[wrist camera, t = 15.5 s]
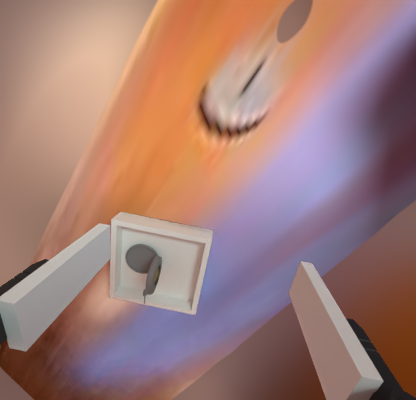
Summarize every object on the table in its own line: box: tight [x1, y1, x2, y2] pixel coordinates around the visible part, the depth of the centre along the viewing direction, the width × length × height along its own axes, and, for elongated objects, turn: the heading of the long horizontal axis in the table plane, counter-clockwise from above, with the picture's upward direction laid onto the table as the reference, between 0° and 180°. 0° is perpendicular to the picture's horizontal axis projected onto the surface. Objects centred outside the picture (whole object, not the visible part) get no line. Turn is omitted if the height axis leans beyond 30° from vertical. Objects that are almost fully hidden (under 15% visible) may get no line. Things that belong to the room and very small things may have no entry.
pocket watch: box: [125, 244, 162, 304], centre depth 36 cm, size 8×8×10 cm
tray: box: [109, 212, 213, 315], centre depth 40 cm, size 18×18×4 cm
